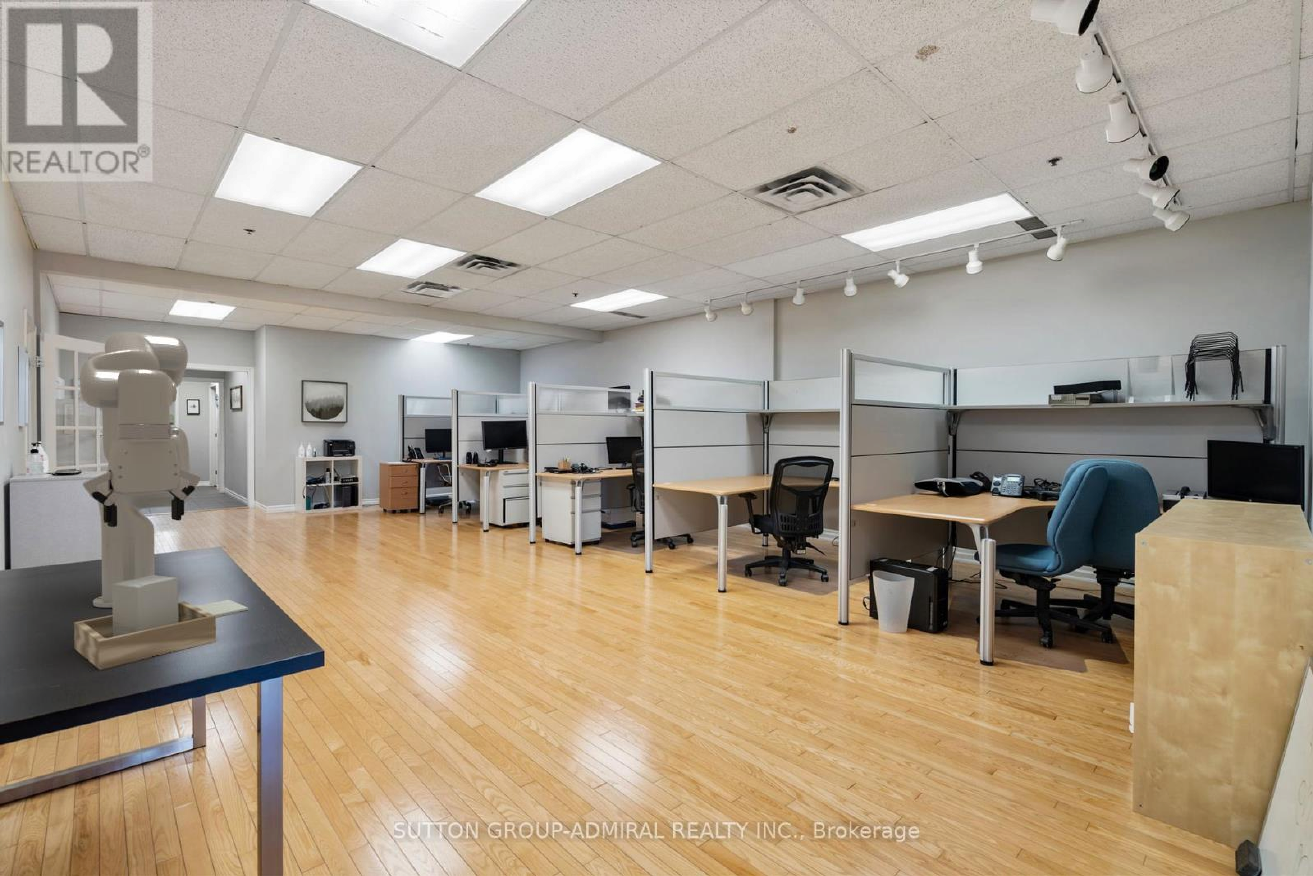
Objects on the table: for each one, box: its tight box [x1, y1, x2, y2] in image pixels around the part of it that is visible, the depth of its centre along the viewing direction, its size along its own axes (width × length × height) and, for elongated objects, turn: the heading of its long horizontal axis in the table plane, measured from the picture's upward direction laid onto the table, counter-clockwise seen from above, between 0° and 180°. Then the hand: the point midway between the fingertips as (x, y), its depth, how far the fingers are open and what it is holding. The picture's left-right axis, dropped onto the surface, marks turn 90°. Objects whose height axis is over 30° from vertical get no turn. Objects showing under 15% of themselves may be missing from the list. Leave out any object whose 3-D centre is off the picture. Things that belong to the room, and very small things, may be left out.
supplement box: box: [111, 575, 179, 637], centre depth 114 cm, size 7×7×13 cm
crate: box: [73, 600, 217, 671], centre depth 114 cm, size 17×17×5 cm
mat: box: [194, 599, 249, 618], centre depth 135 cm, size 11×11×1 cm
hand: (145, 523), depth 114 cm, fingers open, 9 cm apart
